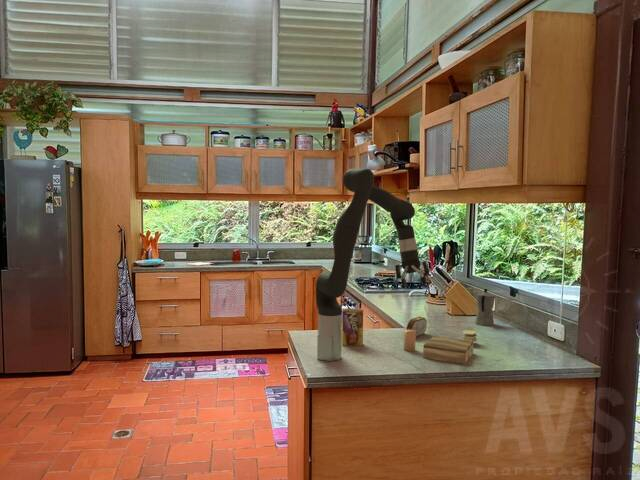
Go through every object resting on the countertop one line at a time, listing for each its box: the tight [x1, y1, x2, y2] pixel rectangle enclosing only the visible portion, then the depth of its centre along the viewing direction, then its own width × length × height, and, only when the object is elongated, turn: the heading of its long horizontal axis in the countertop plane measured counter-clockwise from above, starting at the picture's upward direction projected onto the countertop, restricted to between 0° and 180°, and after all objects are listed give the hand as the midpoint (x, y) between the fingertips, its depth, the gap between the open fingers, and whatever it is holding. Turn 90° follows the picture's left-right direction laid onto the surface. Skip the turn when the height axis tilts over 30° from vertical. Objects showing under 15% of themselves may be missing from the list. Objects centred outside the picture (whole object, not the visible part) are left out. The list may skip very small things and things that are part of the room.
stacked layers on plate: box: [462, 329, 478, 343], centre depth 222 cm, size 10×9×6 cm
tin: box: [406, 316, 428, 338], centre depth 234 cm, size 15×3×8 cm, turn 141°
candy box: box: [342, 307, 364, 346], centre depth 218 cm, size 9×4×15 cm, turn 90°
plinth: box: [422, 335, 474, 365], centre depth 204 cm, size 16×16×5 cm
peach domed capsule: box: [403, 329, 417, 352], centre depth 211 cm, size 5×5×8 cm
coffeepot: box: [474, 288, 496, 327], centre depth 259 cm, size 15×9×18 cm, turn 153°
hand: (414, 286), depth 222 cm, fingers open, 8 cm apart
